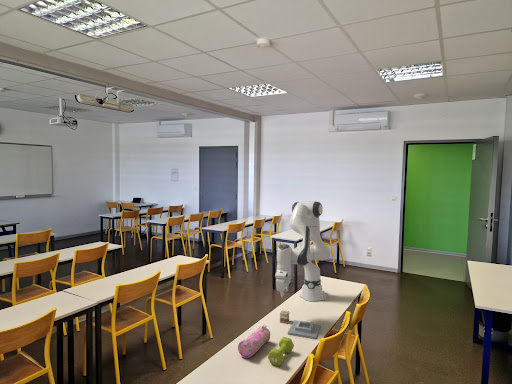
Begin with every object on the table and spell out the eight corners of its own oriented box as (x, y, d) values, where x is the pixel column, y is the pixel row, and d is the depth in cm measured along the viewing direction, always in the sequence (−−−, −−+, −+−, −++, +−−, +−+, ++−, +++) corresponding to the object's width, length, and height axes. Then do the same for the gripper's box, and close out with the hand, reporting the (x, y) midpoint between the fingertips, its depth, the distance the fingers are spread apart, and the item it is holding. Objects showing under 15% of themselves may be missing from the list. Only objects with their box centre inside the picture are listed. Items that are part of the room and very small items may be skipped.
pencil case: (258, 337, 181) (257, 322, 180) (272, 342, 176) (272, 325, 176) (236, 356, 163) (236, 339, 162) (251, 362, 158) (251, 343, 157)
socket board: (294, 322, 199) (294, 317, 199) (320, 326, 193) (320, 321, 193) (287, 334, 184) (287, 328, 184) (315, 339, 178) (315, 333, 178)
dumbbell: (281, 369, 152) (281, 354, 152) (266, 364, 156) (266, 349, 155) (295, 352, 166) (295, 338, 166) (281, 348, 170) (280, 334, 170)
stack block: (282, 319, 203) (282, 310, 203) (289, 320, 201) (289, 311, 201) (280, 322, 199) (279, 313, 199) (287, 323, 197) (287, 314, 197)
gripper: (283, 266, 209) (284, 287, 210) (274, 275, 190) (274, 299, 191) (293, 267, 207) (293, 288, 208) (284, 276, 188) (284, 300, 189)
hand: (284, 293), depth 199 cm, fingers open, 8 cm apart
